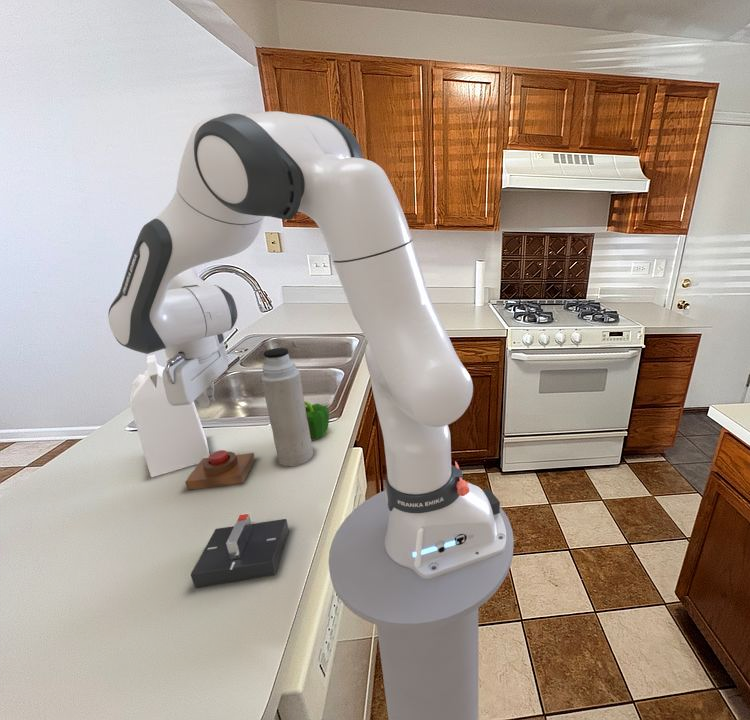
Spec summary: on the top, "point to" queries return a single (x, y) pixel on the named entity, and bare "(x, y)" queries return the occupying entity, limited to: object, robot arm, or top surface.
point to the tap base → (255, 558)
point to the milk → (165, 424)
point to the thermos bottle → (286, 408)
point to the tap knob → (239, 536)
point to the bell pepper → (317, 420)
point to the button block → (221, 472)
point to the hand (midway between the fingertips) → (208, 405)
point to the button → (218, 457)
